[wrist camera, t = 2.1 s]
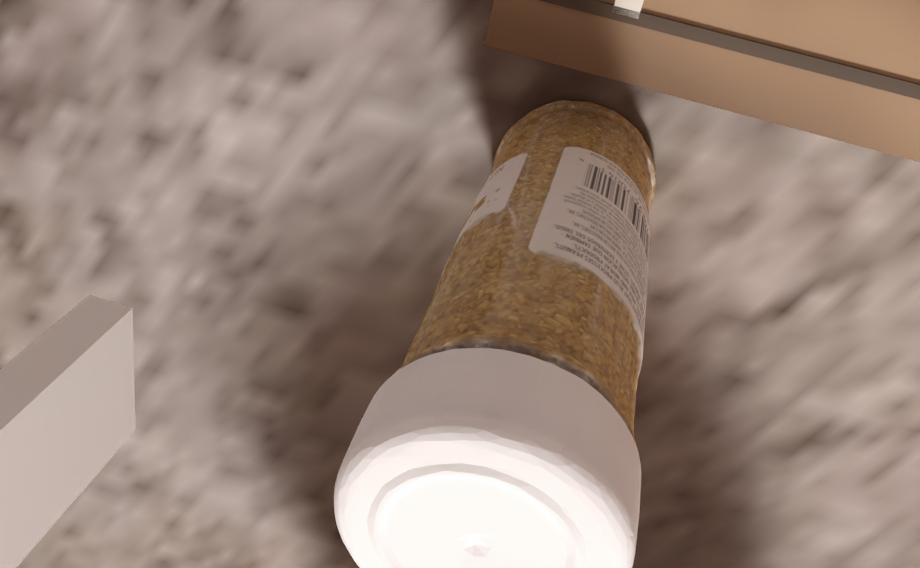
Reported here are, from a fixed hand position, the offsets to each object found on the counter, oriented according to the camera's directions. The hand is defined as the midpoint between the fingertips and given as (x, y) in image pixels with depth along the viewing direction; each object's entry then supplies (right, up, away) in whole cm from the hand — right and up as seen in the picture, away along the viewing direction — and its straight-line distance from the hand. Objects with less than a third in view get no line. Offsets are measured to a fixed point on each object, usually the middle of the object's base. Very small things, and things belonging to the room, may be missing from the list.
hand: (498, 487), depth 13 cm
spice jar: (+3, +6, +10) cm, 12 cm away
